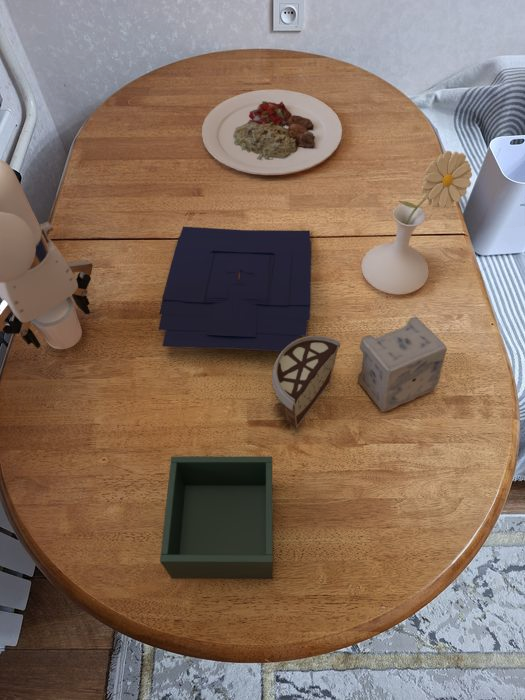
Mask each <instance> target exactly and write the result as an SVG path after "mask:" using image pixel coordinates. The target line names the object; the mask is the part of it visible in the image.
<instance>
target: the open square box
mask: <svg viewBox="0 0 525 700" xmlns="http://www.w3.org/2000/svg"><path fill="white" fill-rule="evenodd" d="M169 464H170V465H169V475H168V482H167V483H168V485H167V493H166V500H165V501H166V502H165V511H164V521H163V528H162V529H163V531H162V539H161V549H160V557H159V562H160V564H161V565H162V566H163V568H164V570H165V571H166V572H167V574H168V575H169V577H170V578H171V579H183V580H184V579H187V580H188V579H193V580H194V579H197V580H199V579H202V580H203V579H205V580H206V579H210V580H211V579H214V580H215V579H217V580H219V579H220V580H227V579H228V580H273V579H274V578H273V577H274V552H273V551H274V545H273V543H274V537H273V535H274V533H273V532H274V529H273V528H274V526H273V525H274V524H273V523H274V522H273V521H274V520H273V515H274V514H273V512H274V511H273V506H274V505H273V503H274V500H273V497H274V496H273V490H274V489H273V483H274V482H273V456H170V463H169Z"/></svg>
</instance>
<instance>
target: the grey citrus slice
mask: <svg viewBox="0 0 525 700" xmlns="http://www.w3.org/2000/svg"><path fill="white" fill-rule="evenodd" d="M340 348H341V342H340V340H337V339H335V338H332V337H330V336H325V335H308V336H302V337H301V338H300V337H299V338H298V340H296V341H294V342H292V343H291V344H289V345H288V346H287V347H286V348H285V349H284V350H283V351H280V353H279V354H278V356H277V358H276V360H275V363H274V365H273V369H272V372H271V382H272V388H273V390H274V393H275V394H276V397H277V398H278V399H279V403H280V404H279V405H280V410H281V413H282V415H283V418H284V419H285V420H286V422H287V423H288V424H289V425H290V426H291V427H292V428H294V429H297V428H298V427H299V426H300V424H301V423H302V422H303V421H304V419H305V417H307V415H308V414H309V412H310V410H312V408H313V407H314V405H316V403H317V401H318V400H319V399H320V397H321V396H322V394H324V392H325V390H326V389H327V388H328V387H329V385H330V384H331V380H332V375H333V372H334V368H335V363H336V358H337V354H338V350H339V349H340Z"/></svg>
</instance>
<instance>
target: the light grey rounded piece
mask: <svg viewBox="0 0 525 700" xmlns="http://www.w3.org/2000/svg"><path fill="white" fill-rule="evenodd" d="M75 307H76V306H75V305H74V302H73V300H72V298H71V296H69V297H68V298H67V299H65V300H64V301H62V302H61V303H59V304H58V305H56V306H54V307H53V308H51V309H50V310H48V311H47V312H45V313H44V314H42V315H40V316H39V317H37V318H35V319H34V320H32V321H31V322H30V323H31V324H32V325H33V326H34V328H35V329H36V330H37V331H38V333H39V334H40V335H41V336H42V338H43V339H44V340H45V341H46V343H47V344H48V345H49V346H50V347H51V348H53V349H57V350H66V349H68V350H69V348H72V347H74V346H75V345H77V343H79V341H80V340H81V339H82V336H83V329H82V325H81V323H80V320H79V317H78V314H77V311H76V308H75Z"/></svg>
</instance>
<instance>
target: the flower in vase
mask: <svg viewBox="0 0 525 700" xmlns="http://www.w3.org/2000/svg"><path fill="white" fill-rule="evenodd" d="M425 174H426V175H425V176H424V177H423V179H422V182H423V183H422V187H421V190H420V191H421V193H422V194H423V198H422V199H421V201H419V203H418V204H417V205H416V204H414V203H412V202H409V201H407V200H406V201H405V200H399V201H398V203H401V204H399V205H397V206H395V208H393V211H392V218H393V220H394V221H395V222H396V235H395V239H394V242H393V241H391V242H383V243H381V244H378V245H375V246H374V247H372V248H371V249H369V250H368V251H367V253H366V254H365V255H364V257H363V258H362V260H361V266H360V267H361V272H362V275H363V277H364V278H365V280H366V281H367V282H368V284H370V285H371V286H372V287H373V288H375V289H376V290H378V291H380V292H382V293H386V294H389V295H406V294H410V293H413V292H415V291H418V290H419V289H420V288H422V287H423V286H424V284H426V282H427V280H428V278H429V267H428V266H429V265H428V263H427V260H426V259H425V257H424V256H423V255H422V253H420V252H419V250H417V249H415V248H414V247H412V246H411V245H410V240H411V238H412V234H413V233H414V231H415V229H416V228H417V227H418V226H420V225H421V224H423V223H424V222H425V221H426V219H427V217H426V216H427V215H426V212H425V211H424V209H423V208H421V207H420V206H421V205H422V204H423V203H424V202H425V201H426V200H427V201H426V203H427V206H431V207H432V208H436V209H437V208H440V209H450V208H451V207H452V205H454V203H457V204H458V203H460V202H461V200H462V197H465V196H466V195H467V193H468V191H467V189H468V188H470V187H471V185H472V182H471V180H470V179H471V178H472V176H473V173H472V167H471V164H470V162H469V161H468V160H467V155H466V154H465V153H463V152H458V151H454V152H452V150H446V151H444V152H443V153H441V154H439V156H438V158H437V160H432V161H431V162H430V163H429V165H428V166H427V168H426V169H425Z"/></svg>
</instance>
